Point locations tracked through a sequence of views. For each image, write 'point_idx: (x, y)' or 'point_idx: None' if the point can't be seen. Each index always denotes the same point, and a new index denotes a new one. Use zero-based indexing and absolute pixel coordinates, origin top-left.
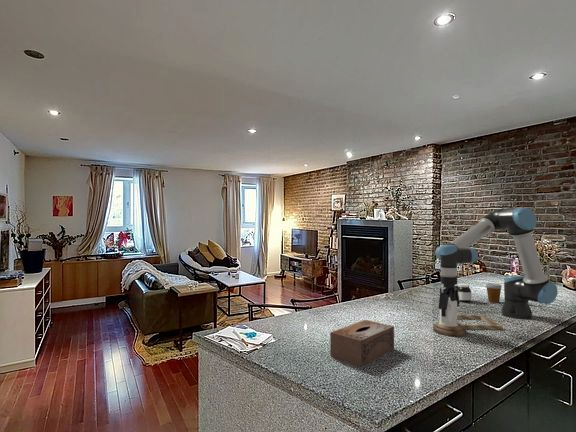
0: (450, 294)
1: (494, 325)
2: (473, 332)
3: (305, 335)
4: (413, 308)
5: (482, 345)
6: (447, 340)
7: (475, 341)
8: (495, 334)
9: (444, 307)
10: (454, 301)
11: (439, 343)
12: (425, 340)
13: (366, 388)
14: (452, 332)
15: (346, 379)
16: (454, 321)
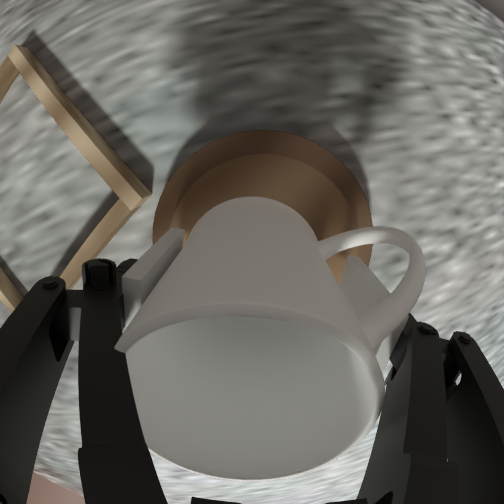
0: (413, 500)
1: (29, 64)
2: (169, 112)
3: None
4: (54, 430)
5: (399, 29)
6: (439, 198)
7: (361, 60)
8: (127, 19)
9: (459, 343)
10: (130, 348)
11: (488, 218)
12: (477, 280)
13: None
14: (364, 197)
15: None
16: (290, 219)
